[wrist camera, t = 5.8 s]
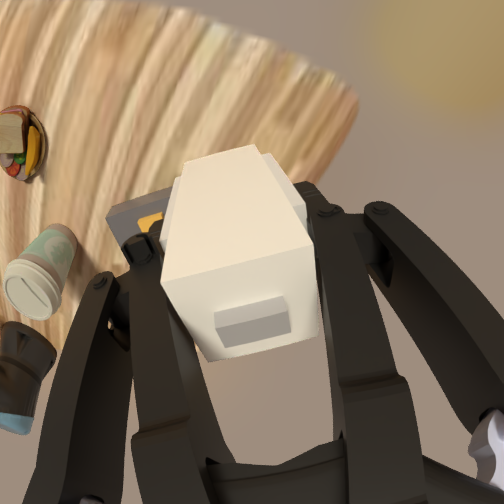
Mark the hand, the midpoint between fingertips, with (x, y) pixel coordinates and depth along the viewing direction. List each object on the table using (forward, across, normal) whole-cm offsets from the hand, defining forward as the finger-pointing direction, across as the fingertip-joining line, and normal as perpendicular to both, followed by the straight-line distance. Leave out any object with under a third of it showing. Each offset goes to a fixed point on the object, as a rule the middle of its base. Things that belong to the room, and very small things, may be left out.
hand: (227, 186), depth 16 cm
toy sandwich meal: (+17, -25, +9) cm, 31 cm away
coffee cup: (+17, -26, -7) cm, 32 cm away
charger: (0, 0, 0) cm, 0 cm away
